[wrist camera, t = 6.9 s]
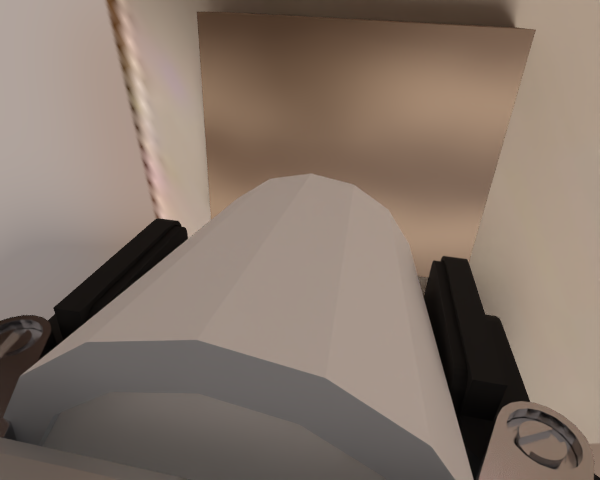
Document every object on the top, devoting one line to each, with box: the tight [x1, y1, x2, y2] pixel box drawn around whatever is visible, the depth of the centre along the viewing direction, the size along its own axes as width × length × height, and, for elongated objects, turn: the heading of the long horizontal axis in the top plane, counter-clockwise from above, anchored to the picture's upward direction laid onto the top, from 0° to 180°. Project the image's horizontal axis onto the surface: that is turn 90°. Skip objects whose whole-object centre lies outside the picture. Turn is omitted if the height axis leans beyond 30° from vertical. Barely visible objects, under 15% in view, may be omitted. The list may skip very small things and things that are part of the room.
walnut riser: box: [197, 12, 535, 277], centre depth 21 cm, size 12×14×3 cm
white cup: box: [3, 174, 474, 480], centre depth 9 cm, size 7×7×7 cm
